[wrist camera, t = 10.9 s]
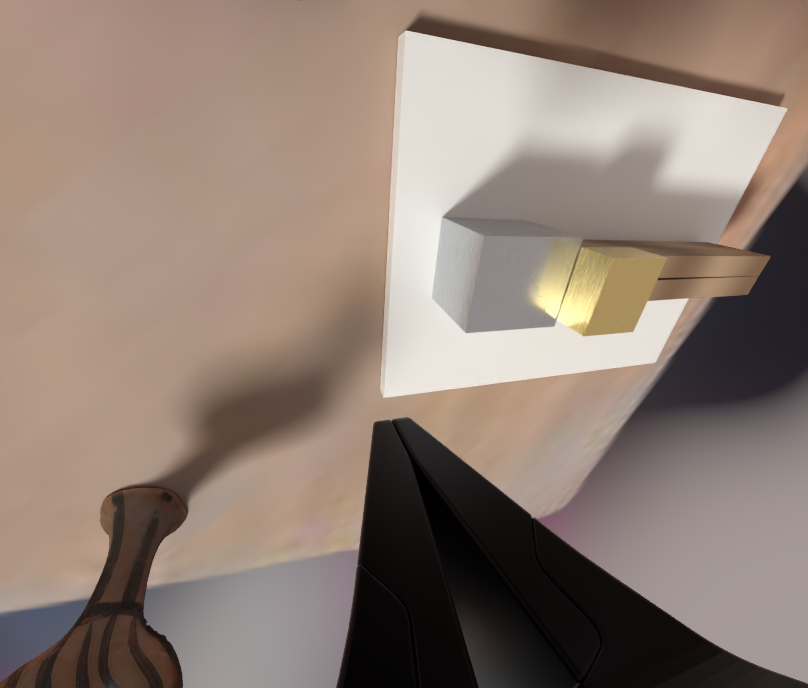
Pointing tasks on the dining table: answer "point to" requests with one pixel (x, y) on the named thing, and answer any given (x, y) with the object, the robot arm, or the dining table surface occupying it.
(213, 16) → the dining table surface
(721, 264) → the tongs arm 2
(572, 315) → the block
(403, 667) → the robot arm
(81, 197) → the dining table surface
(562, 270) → the hinge block
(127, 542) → the figurine
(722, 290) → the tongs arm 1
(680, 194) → the board
